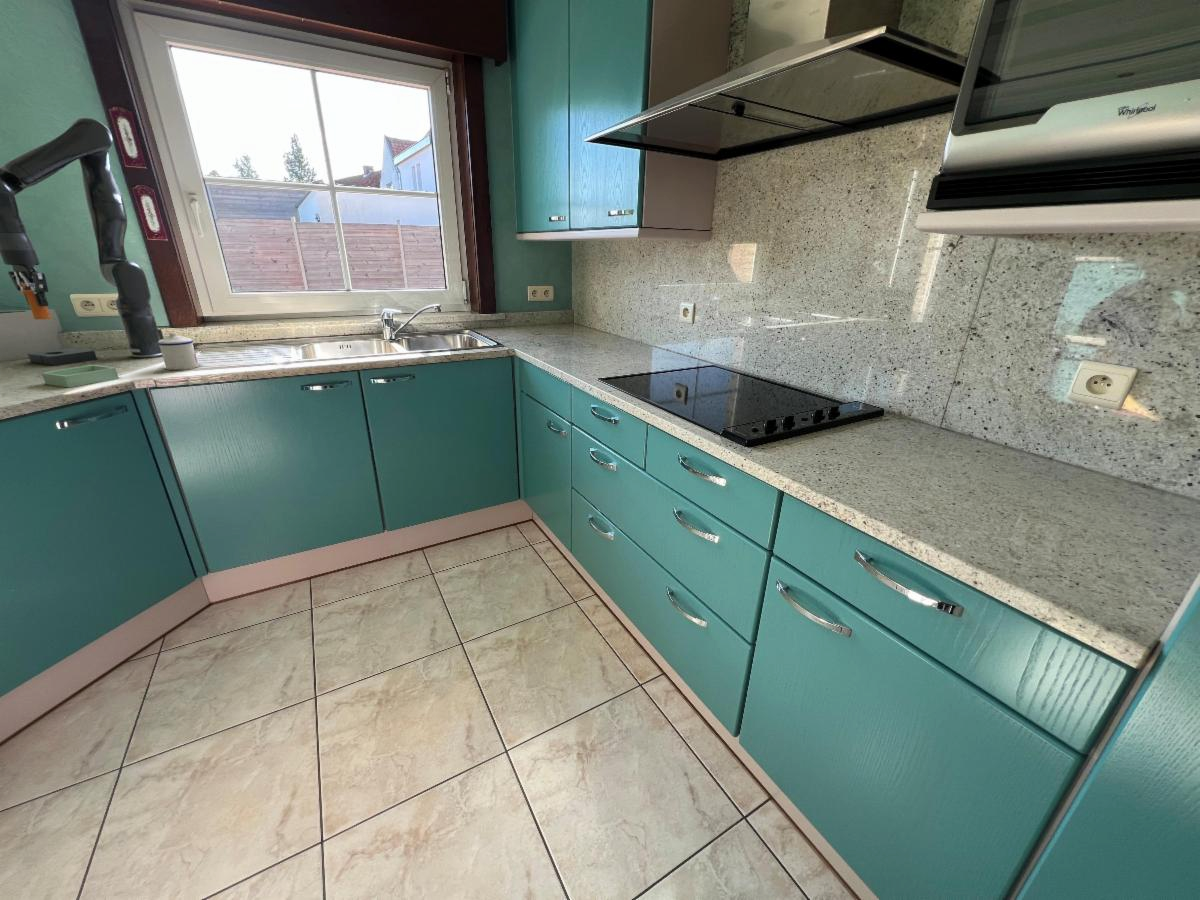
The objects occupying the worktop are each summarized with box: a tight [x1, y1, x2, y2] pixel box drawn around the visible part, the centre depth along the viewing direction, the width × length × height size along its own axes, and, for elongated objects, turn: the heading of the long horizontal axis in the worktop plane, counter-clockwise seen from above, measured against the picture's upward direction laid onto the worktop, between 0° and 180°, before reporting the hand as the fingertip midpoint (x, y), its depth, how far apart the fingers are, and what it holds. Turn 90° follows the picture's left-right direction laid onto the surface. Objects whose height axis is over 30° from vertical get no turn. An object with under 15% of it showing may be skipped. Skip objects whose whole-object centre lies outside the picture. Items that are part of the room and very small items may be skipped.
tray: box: [41, 364, 119, 388], centre depth 146 cm, size 12×10×3 cm
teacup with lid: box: [158, 331, 200, 371], centre depth 164 cm, size 12×9×12 cm
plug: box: [21, 290, 52, 320], centre depth 157 cm, size 5×5×9 cm
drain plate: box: [27, 347, 98, 366], centre depth 170 cm, size 12×12×3 cm
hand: (38, 305), depth 158 cm, fingers closed on plug, 4 cm apart
